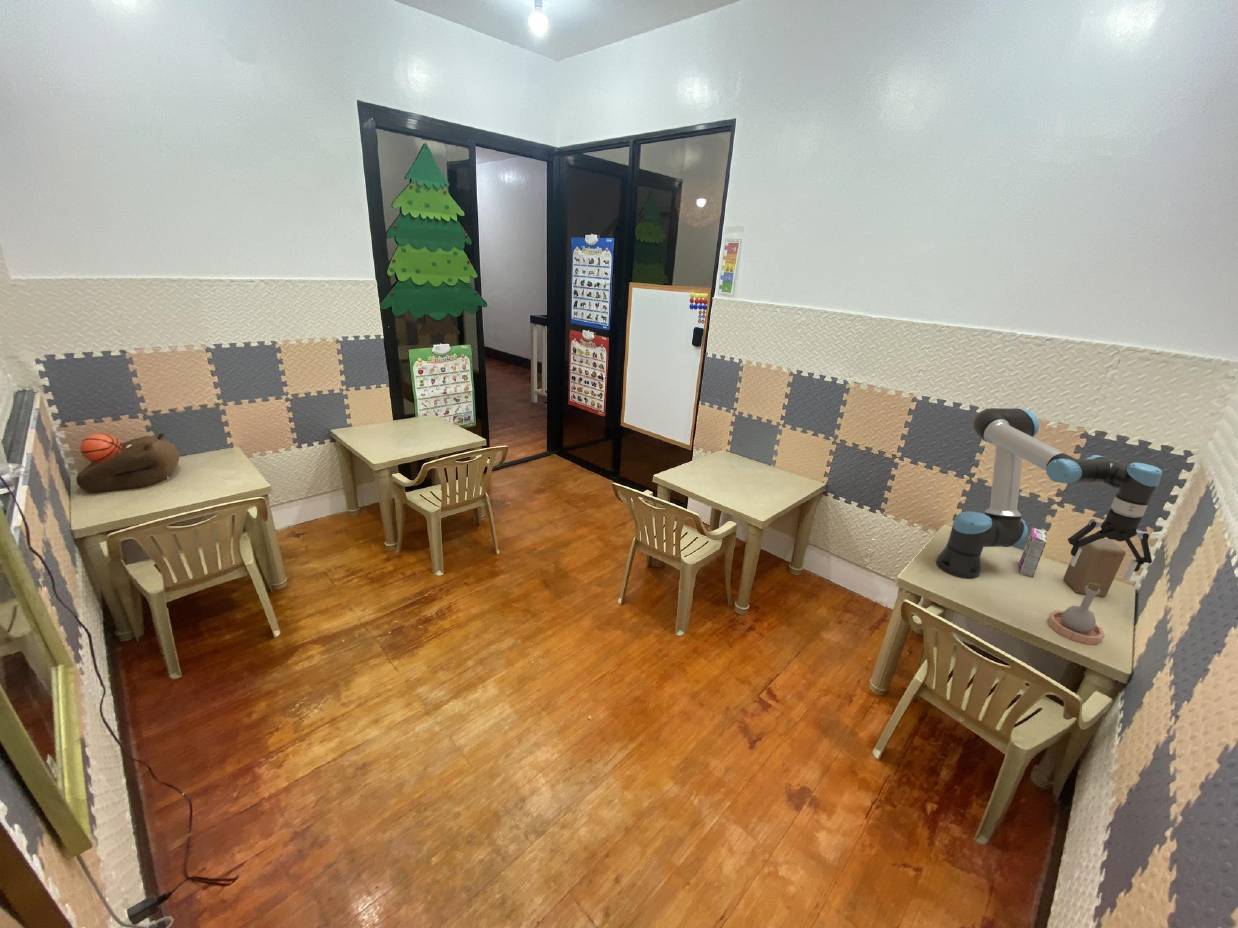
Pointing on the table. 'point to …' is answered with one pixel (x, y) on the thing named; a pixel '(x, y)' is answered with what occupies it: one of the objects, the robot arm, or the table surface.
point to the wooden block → (1095, 566)
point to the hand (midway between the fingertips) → (1098, 571)
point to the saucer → (1089, 638)
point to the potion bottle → (1081, 612)
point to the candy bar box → (1032, 552)
